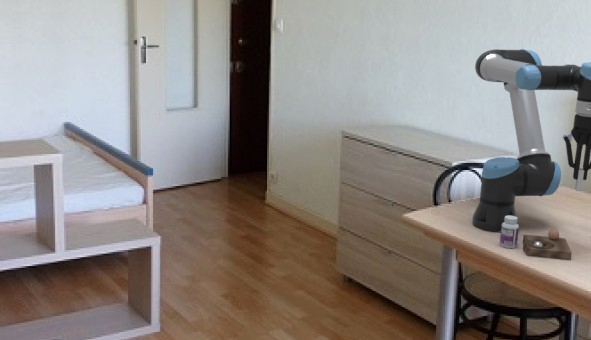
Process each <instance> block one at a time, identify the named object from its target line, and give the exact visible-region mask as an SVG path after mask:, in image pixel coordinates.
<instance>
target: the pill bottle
mask: <svg viewBox="0 0 591 340" xmlns="http://www.w3.org/2000/svg"><path fill="white" fill-rule="evenodd" d="M516 216H517V215H516ZM516 216H505V219H504V220H505V222H503V223H502V227H501V232H500V237H499V238H500V239H499V245H500V246H501V247H503V248H506V249H515V248H517V246H518V241H519V232H520V231H519V229H520V226H519V224H517V221H518V219H519V218H518V217H516Z"/></svg>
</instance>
